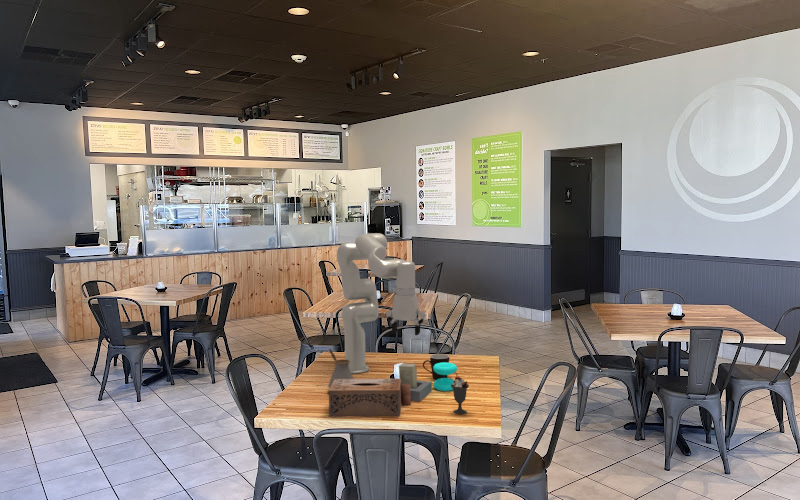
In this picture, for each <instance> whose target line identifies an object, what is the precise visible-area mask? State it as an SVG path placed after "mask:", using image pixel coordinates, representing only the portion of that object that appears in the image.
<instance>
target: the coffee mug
mask: <svg viewBox="0 0 800 500" xmlns="http://www.w3.org/2000/svg"><path fill="white" fill-rule="evenodd" d="M450 357H451V356H450V355H448V354H444V353H434V354H430V355H429V360H424V361H423V363H422V367H423V369H424V370H425V371H426V372H429V373H431V376H432V380H433V381H436V380H437V379H440V378H448V375H440V374H437V373H436V372H435V371H434V370H433V367H434V365H435V364H437V363H443V362H447V363H450ZM427 362H428V363H429V364H430V367H431V368H430V369H431V370H429V369H428V368H426V367H425V364H426V363H427Z"/></svg>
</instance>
